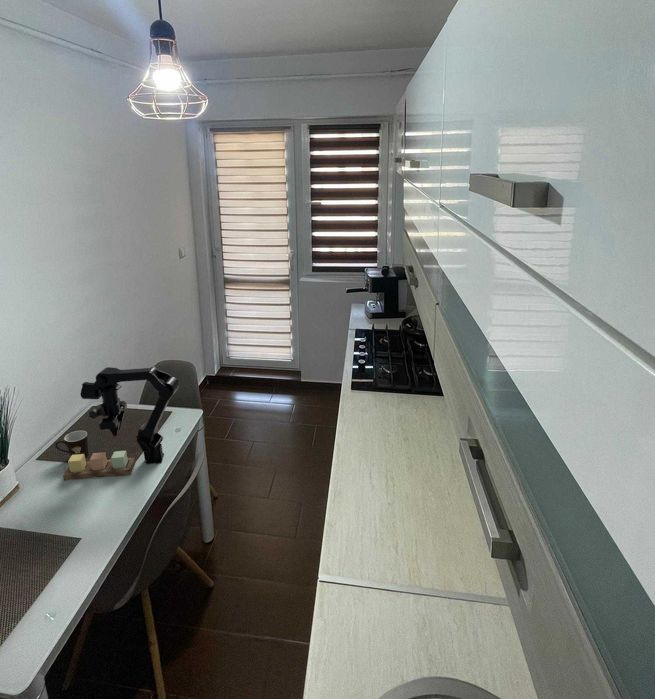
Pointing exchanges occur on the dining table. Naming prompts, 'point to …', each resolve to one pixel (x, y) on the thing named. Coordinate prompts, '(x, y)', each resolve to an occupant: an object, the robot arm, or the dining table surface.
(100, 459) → the terracotta cube
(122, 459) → the mint green cube
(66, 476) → the brown wooden board
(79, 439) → the coffee mug
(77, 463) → the yellow cube
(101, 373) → the robot arm
